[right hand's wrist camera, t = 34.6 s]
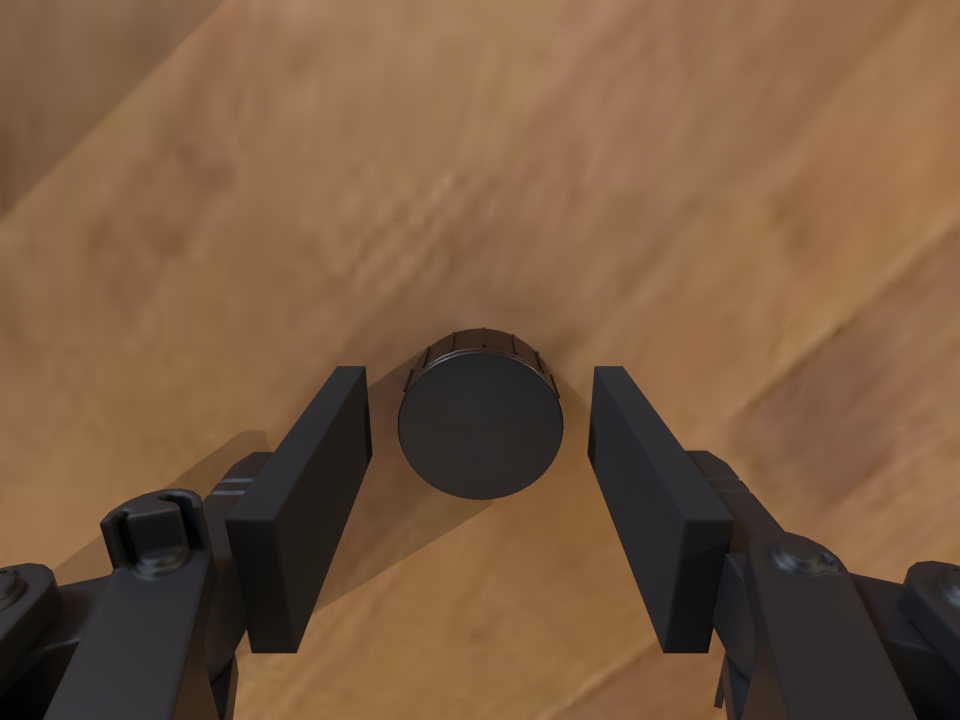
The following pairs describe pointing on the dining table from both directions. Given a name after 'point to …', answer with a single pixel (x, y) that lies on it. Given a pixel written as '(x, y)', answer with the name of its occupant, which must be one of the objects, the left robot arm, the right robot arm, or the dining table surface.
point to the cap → (480, 415)
